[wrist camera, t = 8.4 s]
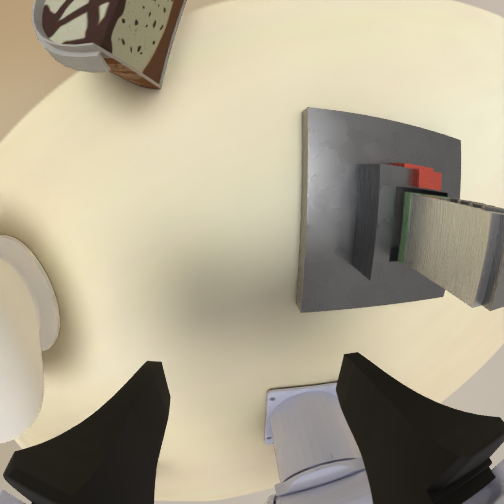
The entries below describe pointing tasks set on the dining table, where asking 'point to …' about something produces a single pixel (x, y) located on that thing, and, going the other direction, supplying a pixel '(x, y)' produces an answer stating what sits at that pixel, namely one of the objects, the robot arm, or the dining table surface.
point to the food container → (110, 35)
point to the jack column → (455, 246)
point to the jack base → (365, 207)
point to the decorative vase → (23, 335)
